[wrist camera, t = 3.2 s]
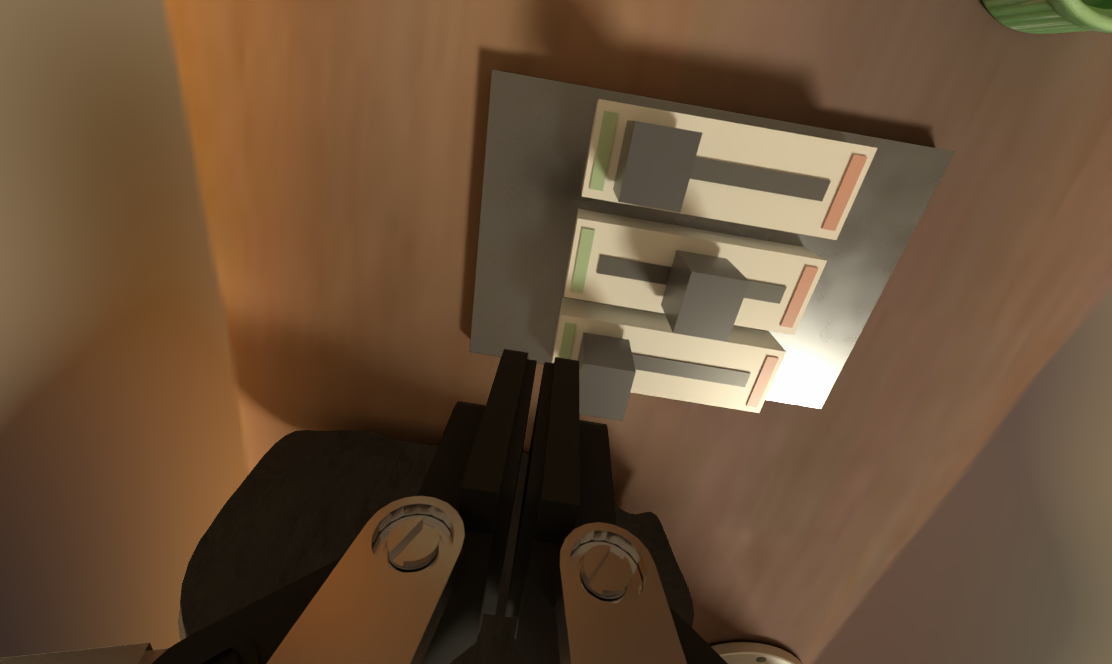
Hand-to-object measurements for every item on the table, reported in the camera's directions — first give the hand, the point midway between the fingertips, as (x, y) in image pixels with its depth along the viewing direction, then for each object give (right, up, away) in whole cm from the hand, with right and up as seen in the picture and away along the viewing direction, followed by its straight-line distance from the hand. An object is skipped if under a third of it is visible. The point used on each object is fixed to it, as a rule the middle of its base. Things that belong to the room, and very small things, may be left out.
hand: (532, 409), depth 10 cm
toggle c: (+4, +9, +9) cm, 14 cm away
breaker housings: (+7, +5, +14) cm, 17 cm away
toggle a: (+3, 0, +13) cm, 14 cm away
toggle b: (+7, +4, +11) cm, 14 cm away
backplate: (+7, +6, +15) cm, 18 cm away
